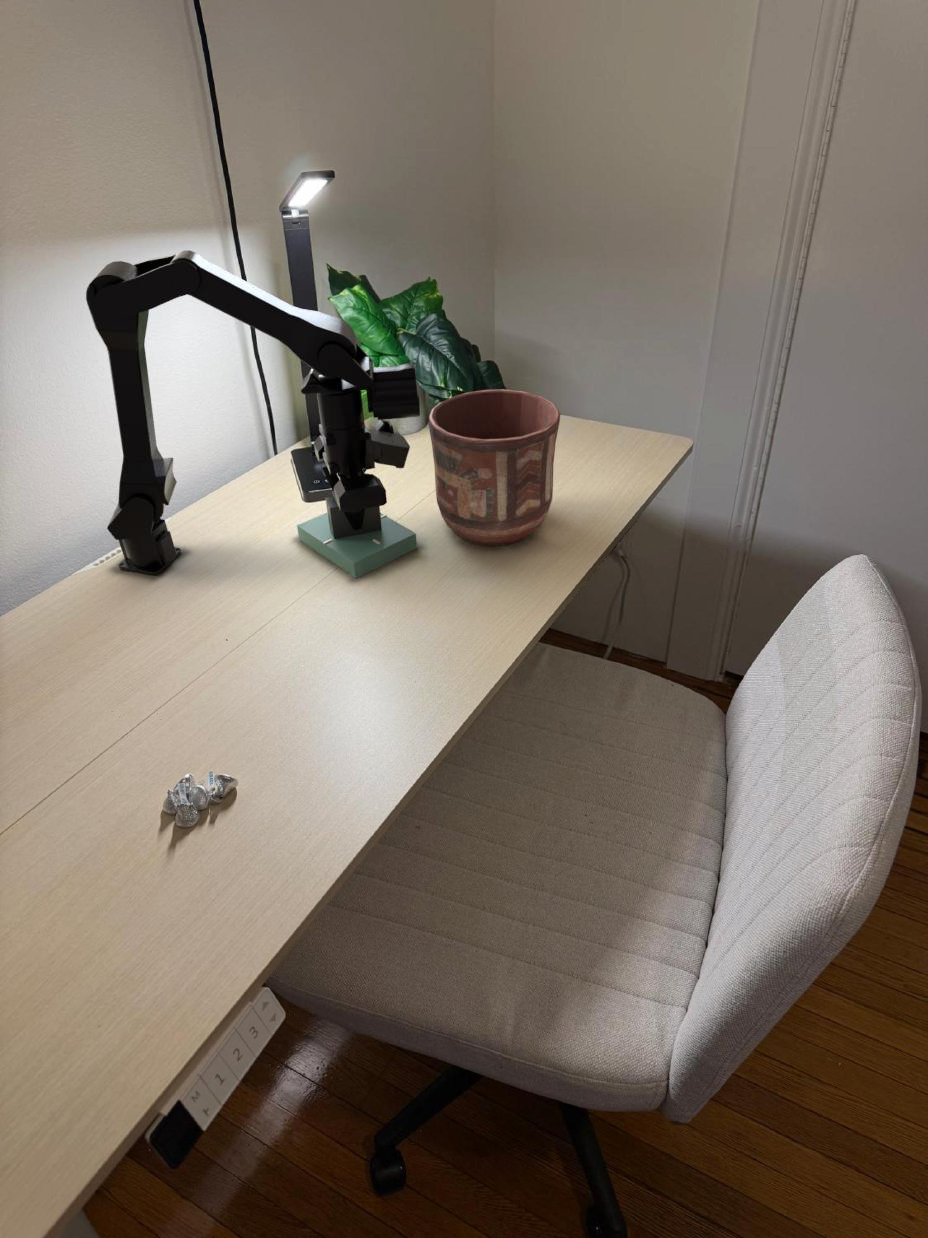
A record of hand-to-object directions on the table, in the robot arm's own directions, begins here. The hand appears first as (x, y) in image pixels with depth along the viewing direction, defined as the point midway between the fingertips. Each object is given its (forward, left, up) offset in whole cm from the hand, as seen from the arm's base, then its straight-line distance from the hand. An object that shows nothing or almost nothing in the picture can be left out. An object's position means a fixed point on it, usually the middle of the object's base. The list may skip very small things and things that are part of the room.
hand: (354, 523), depth 117 cm
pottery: (+18, +10, -4) cm, 21 cm away
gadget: (0, 0, -1) cm, 1 cm away
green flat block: (0, 0, -4) cm, 4 cm away
